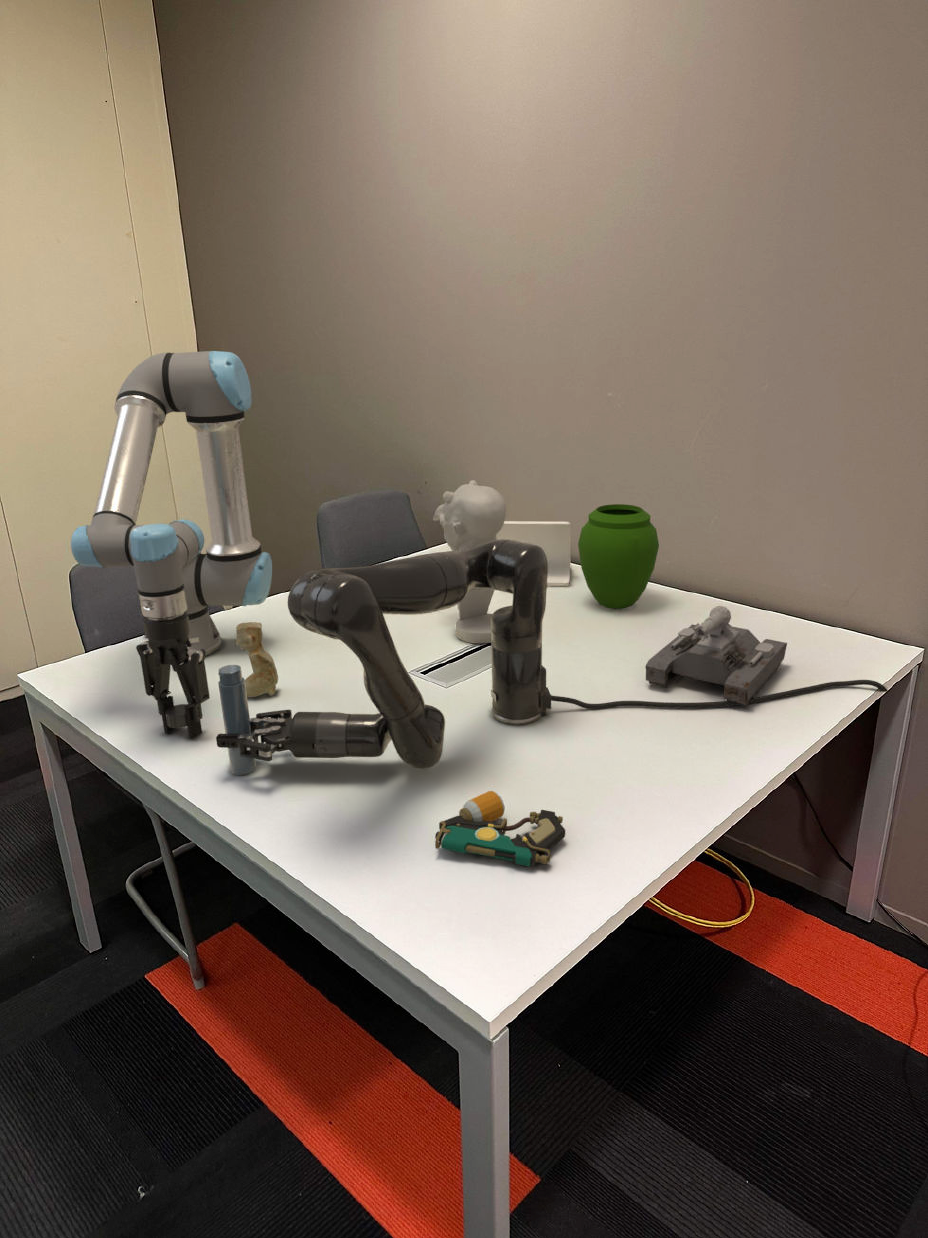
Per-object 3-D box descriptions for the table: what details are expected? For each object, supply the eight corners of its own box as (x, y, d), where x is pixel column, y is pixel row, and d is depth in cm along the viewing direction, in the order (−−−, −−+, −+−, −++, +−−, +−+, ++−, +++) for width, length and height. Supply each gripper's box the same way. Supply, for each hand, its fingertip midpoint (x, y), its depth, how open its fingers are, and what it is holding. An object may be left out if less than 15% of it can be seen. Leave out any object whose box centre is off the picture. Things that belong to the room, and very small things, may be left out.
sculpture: (244, 688, 174) (235, 619, 168) (280, 686, 174) (272, 617, 169) (241, 701, 168) (231, 630, 163) (278, 698, 169) (269, 628, 164)
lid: (189, 728, 153) (187, 716, 152) (162, 728, 154) (160, 716, 153) (200, 716, 158) (198, 704, 157) (173, 715, 158) (171, 703, 157)
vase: (599, 587, 227) (601, 497, 218) (668, 600, 216) (673, 505, 208) (562, 608, 212) (564, 513, 204) (634, 623, 202) (639, 523, 193)
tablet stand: (569, 585, 229) (570, 524, 223) (476, 584, 232) (475, 523, 226) (570, 566, 246) (571, 508, 240) (484, 564, 249) (483, 507, 243)
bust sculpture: (477, 606, 216) (474, 468, 204) (528, 636, 196) (528, 485, 184) (420, 618, 209) (413, 476, 197) (467, 650, 189) (462, 494, 177)
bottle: (227, 767, 145) (212, 668, 138) (250, 760, 147) (237, 661, 140) (236, 778, 141) (222, 676, 135) (260, 769, 144) (247, 669, 137)
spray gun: (576, 835, 125) (528, 897, 113) (478, 798, 133) (424, 852, 121) (578, 811, 123) (529, 871, 111) (479, 775, 131) (423, 828, 119)
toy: (692, 645, 188) (696, 580, 183) (784, 664, 177) (792, 596, 172) (643, 687, 169) (647, 616, 164) (744, 712, 158) (751, 636, 153)
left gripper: (109, 615, 149) (130, 734, 157) (192, 626, 142) (210, 750, 150) (139, 602, 155) (158, 717, 163) (220, 612, 149) (236, 731, 157)
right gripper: (331, 695, 146) (233, 694, 147) (310, 735, 133) (203, 734, 134) (334, 734, 148) (238, 733, 150) (315, 777, 135) (209, 775, 137)
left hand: (183, 733), depth 157 cm, fingers closed on lid, 5 cm apart
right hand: (222, 733), depth 142 cm, fingers closed on bottle, 4 cm apart
